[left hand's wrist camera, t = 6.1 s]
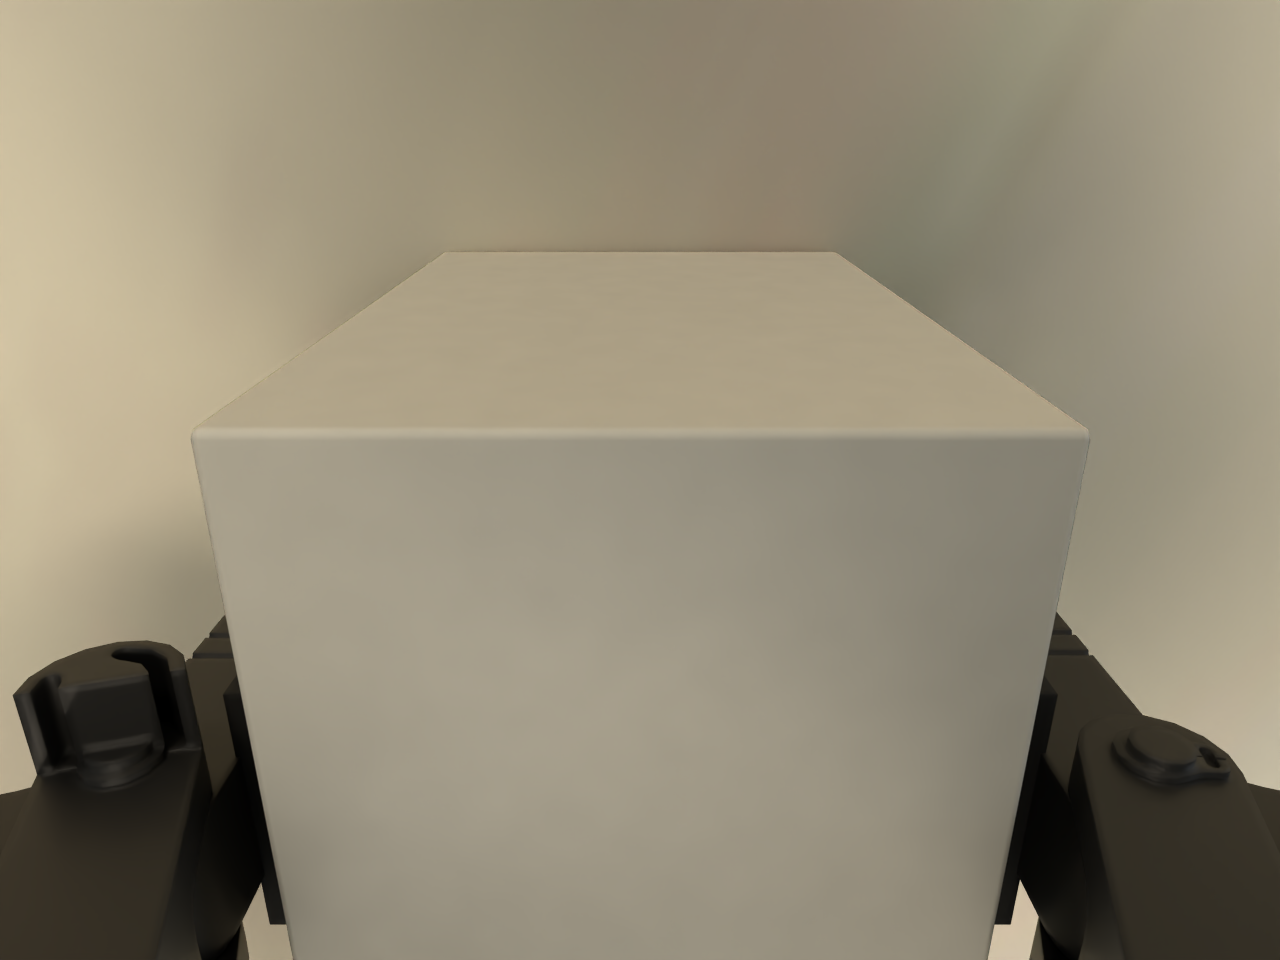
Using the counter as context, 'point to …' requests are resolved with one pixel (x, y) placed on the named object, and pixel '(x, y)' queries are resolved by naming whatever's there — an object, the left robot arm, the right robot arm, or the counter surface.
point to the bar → (640, 612)
